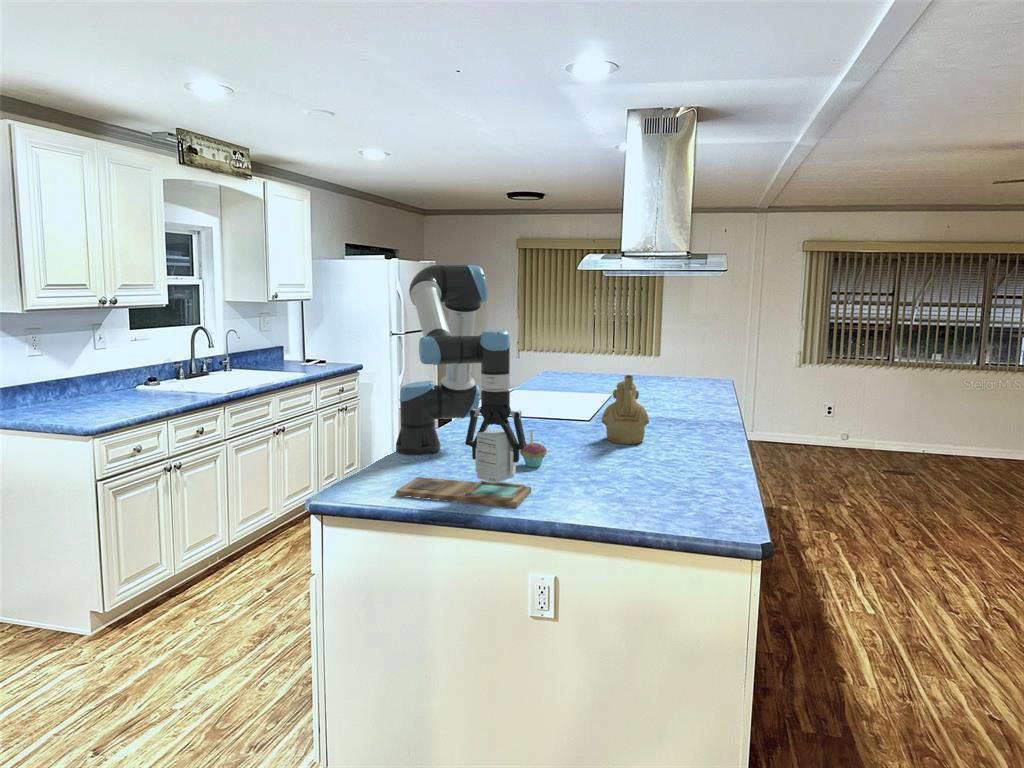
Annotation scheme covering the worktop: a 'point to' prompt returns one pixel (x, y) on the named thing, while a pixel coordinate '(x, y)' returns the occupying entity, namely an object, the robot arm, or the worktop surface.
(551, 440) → the worktop surface
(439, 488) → the board
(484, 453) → the supplement box
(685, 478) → the worktop surface
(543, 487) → the worktop surface
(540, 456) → the cupcake
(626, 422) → the ceramic vessel
